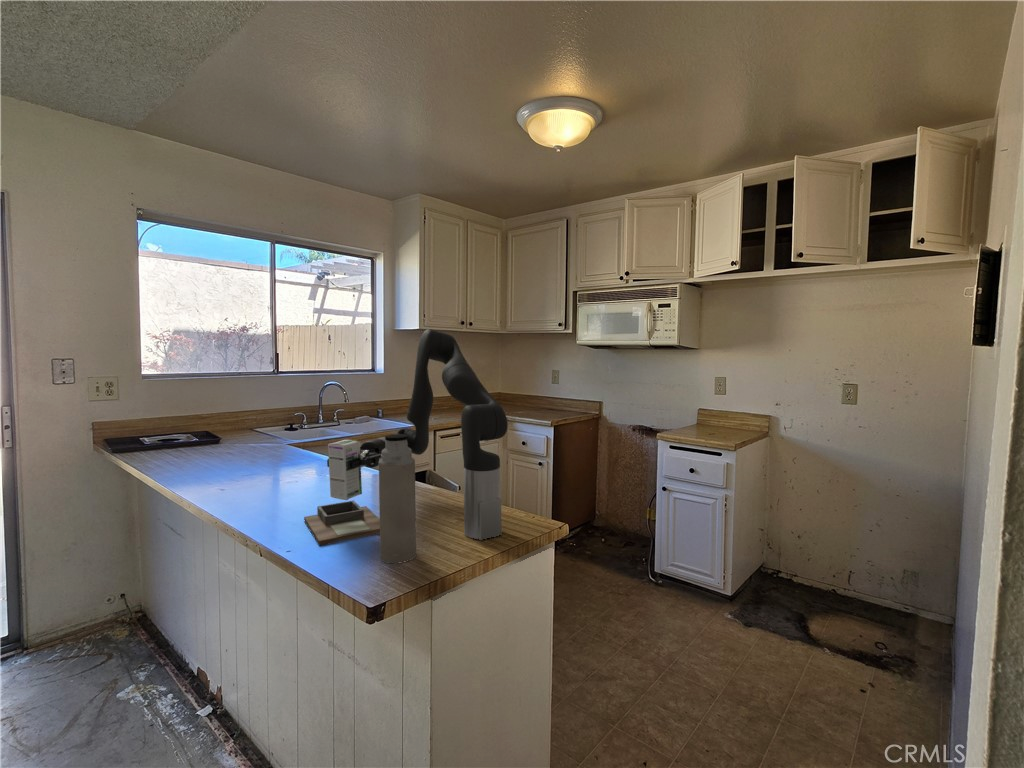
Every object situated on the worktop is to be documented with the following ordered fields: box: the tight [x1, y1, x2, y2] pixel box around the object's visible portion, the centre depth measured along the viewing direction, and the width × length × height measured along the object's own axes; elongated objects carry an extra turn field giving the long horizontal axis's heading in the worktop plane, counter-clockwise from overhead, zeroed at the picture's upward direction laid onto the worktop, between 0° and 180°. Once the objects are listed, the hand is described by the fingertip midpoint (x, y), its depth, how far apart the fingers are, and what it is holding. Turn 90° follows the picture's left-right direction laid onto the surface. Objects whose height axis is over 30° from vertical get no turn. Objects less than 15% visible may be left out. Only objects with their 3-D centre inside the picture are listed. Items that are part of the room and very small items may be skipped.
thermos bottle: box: [378, 433, 417, 564], centre depth 111 cm, size 8×8×28 cm
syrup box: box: [327, 439, 363, 501], centre depth 129 cm, size 6×6×14 cm
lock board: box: [303, 500, 380, 546], centre depth 131 cm, size 20×17×4 cm
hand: (338, 464), depth 126 cm, fingers closed on syrup box, 6 cm apart
